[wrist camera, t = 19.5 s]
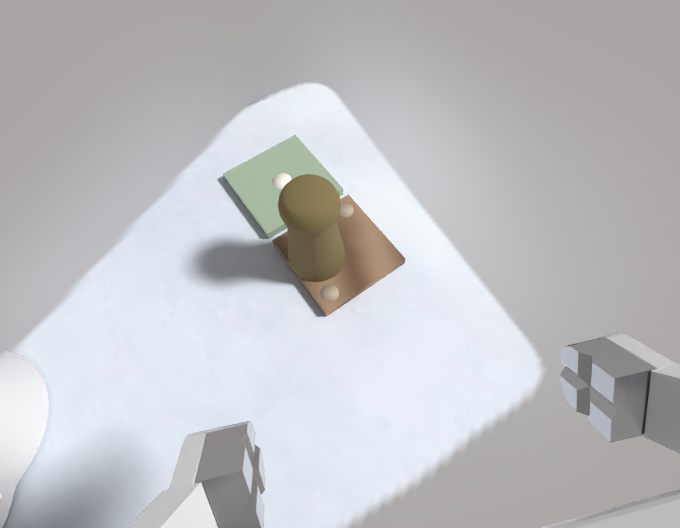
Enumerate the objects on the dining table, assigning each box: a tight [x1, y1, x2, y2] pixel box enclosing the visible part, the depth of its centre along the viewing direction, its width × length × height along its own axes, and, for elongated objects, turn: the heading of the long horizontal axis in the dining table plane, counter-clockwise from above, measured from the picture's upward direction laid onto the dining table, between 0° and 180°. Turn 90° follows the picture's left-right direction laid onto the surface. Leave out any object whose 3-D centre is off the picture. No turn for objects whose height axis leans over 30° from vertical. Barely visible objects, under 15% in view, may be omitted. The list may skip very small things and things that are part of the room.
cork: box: [278, 174, 346, 282], centre depth 37 cm, size 6×6×11 cm
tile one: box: [223, 135, 343, 238], centre depth 46 cm, size 10×10×1 cm
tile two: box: [273, 195, 405, 316], centre depth 42 cm, size 10×10×1 cm
